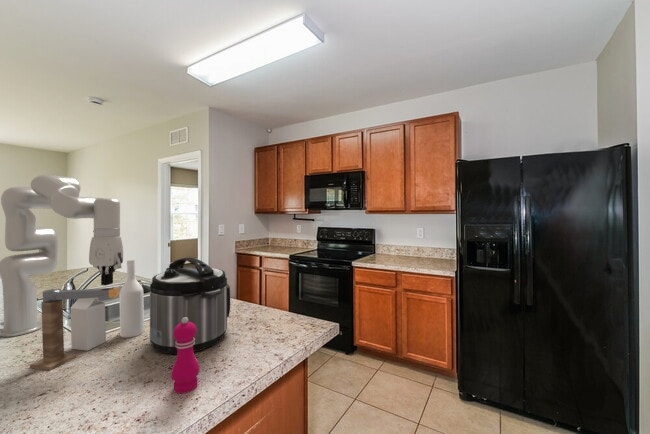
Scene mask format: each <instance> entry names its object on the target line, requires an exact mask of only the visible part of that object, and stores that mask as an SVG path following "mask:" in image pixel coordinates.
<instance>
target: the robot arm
mask: <svg viewBox="0 0 650 434" xmlns="http://www.w3.org/2000/svg"><path fill="white" fill-rule="evenodd" d="M80 192H81V184H80V183H79V181H78V180H77V179H76V178H74V177H71V176H65V175H64V176H63V175H62V176H61V175H54V174H53V175H52V174H51V175H50V174H41V175H38V176H35V177H34V178H33V179H31V182H30V186H29V187H28V186H17V187H16V186H14V187H9V188H7V189H5V190H4V191H3V192H2V194H1V196H0V204H1V208H2V210H3V213H4V217H5V225H4V226H5V228H4V231H5V232H4V245H5V248H6V249H7V250H8V251H11V252H25V251H26V252H28V251H36V250H37V251H38V252H37V251H36V252H28V253H19V254H13V255H9V256H5V257H4V258H2V259H1V260H0V279H1V284H2V295H3V296H2V297H3V299H2V300H3V321H1V322H0V326H3V329H1V330H0V337H2V338H9V337H17V336H21V335H27V334H30V333H33V332H36V331H38V330H40V329H42V321H38V300H37V299H38V297H37V296H38V295H37V285H36V283H35V282H34V281H32V279H30V278H29V277H33V276H37V275H43V274H44V275H45V274H49V273H51V272H53V271H55V269H56V267H57V265H58V252H59V251H58V248H59V237H58V234H57V232H56V230H55V229H54V228H51V227H48V226H40V227H39V226H38V227H36V224H37V223H36V222H37V221H36V220H37V219H36V216H35V214H34V213H33V212H32V210H30V209H34V210H35V209H37V210H38V209H39V210H40V209H44V210H45V209H51V210H52V211H53V212H54V213H56V214H58V215H60V216H62V217H64V218H66V219H67V218H68V219H73V220H74V219H76V220H77V219H93V231H92V232H93V236H92V237H91V239H90V244H89V253H88V262H89V264H90V265H91V266H93V268H95V269H98V272H99V274H100V285H101V286H108V285H113V283H114V273H115V271H116V270H119V269H122V264H123V262H124V247H123V241H122V237H121V202H120V200H119V199H117V198H104V197H92V196H90V197H89V196H86V197H85V196H80Z"/></svg>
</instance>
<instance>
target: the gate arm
mask: <svg viewBox="0 0 650 434" xmlns="http://www.w3.org/2000/svg"><path fill="white" fill-rule="evenodd" d="M120 290H121V287H120V286H118V287H117V286H113V287H107V288H86V289H85V288H84V289H83V288H82V289H66V290H65V289H63V290H62V289H61V288H53V289H47V290H44V291H42V302H52V301H57V300H62V299H63V300H78V299H82V298H98V299H99V298H109V299H110V298H111V299H112V298H118V297H119V295H120Z"/></svg>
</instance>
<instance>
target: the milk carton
mask: <svg viewBox="0 0 650 434" xmlns="http://www.w3.org/2000/svg"><path fill="white" fill-rule="evenodd" d="M106 331H107V330H106V303H105V302H104V301H102V300H101V299H99V298H82V299H76V301H75V302H74V303H73V304H72V305H71V306H70V336H71V337H70V340H71V349H72V350H77V351H78V350H79V351H86V352H87V351H89V350H92V349H93V348H96V347H98V346H100V345H102V344H104V343H106V342H107V335H106Z"/></svg>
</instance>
